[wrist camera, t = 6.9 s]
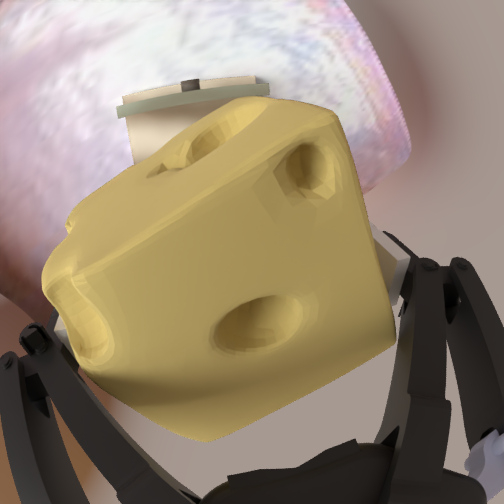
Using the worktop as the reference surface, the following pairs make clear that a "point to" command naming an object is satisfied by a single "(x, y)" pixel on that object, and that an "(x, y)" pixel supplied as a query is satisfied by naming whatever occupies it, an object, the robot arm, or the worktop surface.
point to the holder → (178, 109)
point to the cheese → (225, 270)
